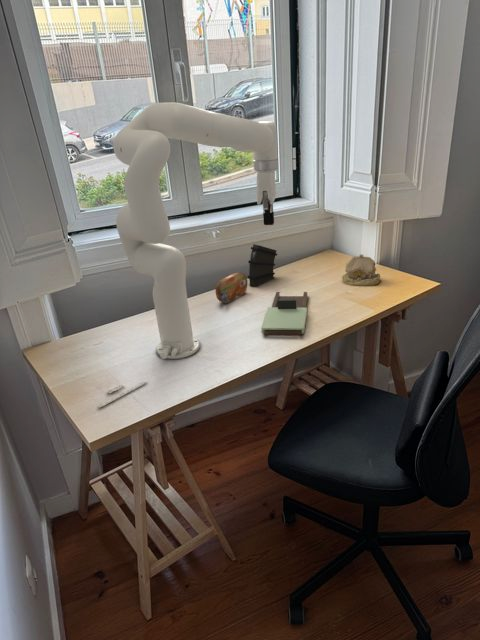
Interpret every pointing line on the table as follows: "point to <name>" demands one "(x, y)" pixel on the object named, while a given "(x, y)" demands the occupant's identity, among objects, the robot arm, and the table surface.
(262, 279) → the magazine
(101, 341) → the table surface
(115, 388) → the picture light
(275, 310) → the lid
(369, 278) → the ceramic model
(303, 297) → the tray
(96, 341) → the table surface
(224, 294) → the tin
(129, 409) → the table surface
